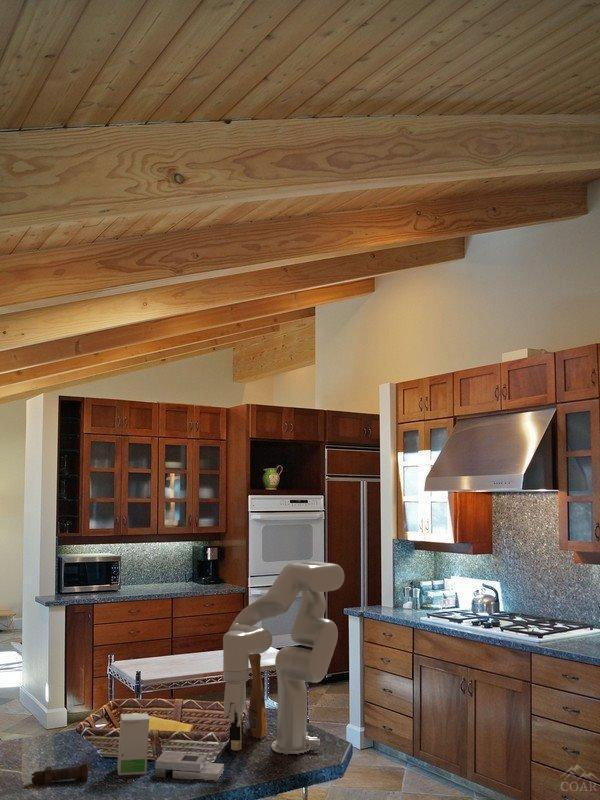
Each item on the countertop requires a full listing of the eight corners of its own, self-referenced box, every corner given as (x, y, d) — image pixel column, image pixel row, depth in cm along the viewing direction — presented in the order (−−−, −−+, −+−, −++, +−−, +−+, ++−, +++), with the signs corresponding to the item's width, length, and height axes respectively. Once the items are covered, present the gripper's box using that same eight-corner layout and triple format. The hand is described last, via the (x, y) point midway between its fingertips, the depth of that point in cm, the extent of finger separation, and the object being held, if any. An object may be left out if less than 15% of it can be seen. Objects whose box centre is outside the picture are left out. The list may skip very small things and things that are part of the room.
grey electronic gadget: (223, 771, 237) (224, 755, 237) (217, 781, 229) (218, 765, 230) (163, 766, 239) (163, 751, 240) (154, 776, 232) (155, 761, 232)
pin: (242, 746, 239) (242, 712, 239) (240, 750, 236) (240, 715, 236) (232, 746, 239) (232, 712, 240) (230, 750, 236) (230, 715, 237)
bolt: (31, 791, 224) (87, 784, 229) (31, 787, 220) (88, 780, 225) (31, 768, 227) (86, 762, 232) (31, 764, 223) (87, 758, 228)
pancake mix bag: (248, 741, 263) (251, 653, 266) (243, 723, 282) (245, 641, 285) (268, 740, 264) (271, 653, 267) (262, 722, 283) (264, 641, 286)
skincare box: (118, 776, 231) (120, 720, 233) (116, 767, 238) (119, 713, 239) (147, 774, 233) (149, 718, 235) (145, 765, 240) (147, 711, 241)
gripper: (229, 666, 247) (229, 727, 246) (217, 682, 231) (217, 747, 230) (253, 667, 246) (253, 728, 245) (243, 683, 230) (243, 749, 229)
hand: (236, 737), depth 238 cm, fingers closed on pin, 3 cm apart
